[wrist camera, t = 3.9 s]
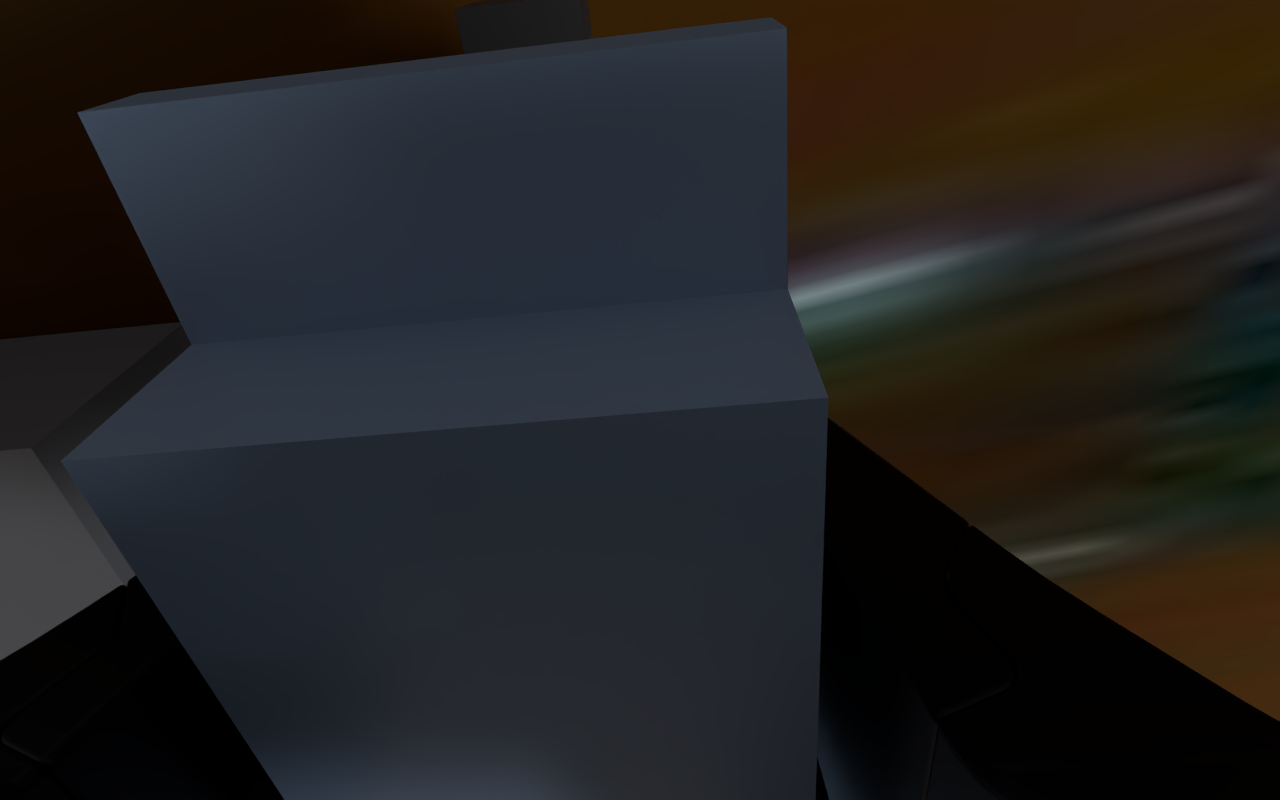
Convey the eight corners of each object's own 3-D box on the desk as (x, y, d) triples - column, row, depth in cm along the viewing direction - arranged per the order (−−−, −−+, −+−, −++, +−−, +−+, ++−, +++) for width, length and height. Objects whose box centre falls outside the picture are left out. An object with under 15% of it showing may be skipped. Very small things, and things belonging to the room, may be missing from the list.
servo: (747, 579, 13) (809, 1012, 8) (518, 594, 13) (430, 1020, 8) (720, -31, 8) (840, 35, 3) (354, 15, 8) (-143, 150, 3)
